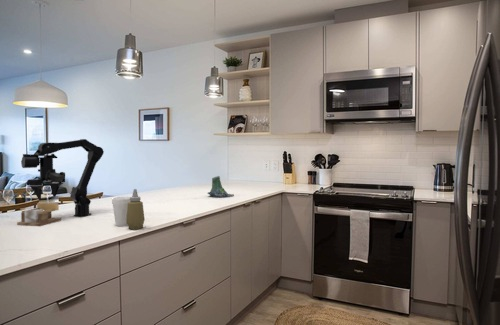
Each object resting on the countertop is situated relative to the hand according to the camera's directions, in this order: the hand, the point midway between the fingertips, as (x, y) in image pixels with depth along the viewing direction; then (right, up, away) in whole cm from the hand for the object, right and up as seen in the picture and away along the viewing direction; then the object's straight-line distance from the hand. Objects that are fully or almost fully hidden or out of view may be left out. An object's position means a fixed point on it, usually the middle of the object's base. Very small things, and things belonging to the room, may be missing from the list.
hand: (47, 197), depth 171 cm
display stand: (-1, -12, -4) cm, 13 cm away
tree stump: (+81, -8, +87) cm, 119 cm away
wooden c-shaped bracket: (-1, -6, -4) cm, 7 cm away
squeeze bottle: (+51, -12, -16) cm, 55 cm away
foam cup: (+42, -12, -9) cm, 45 cm away
